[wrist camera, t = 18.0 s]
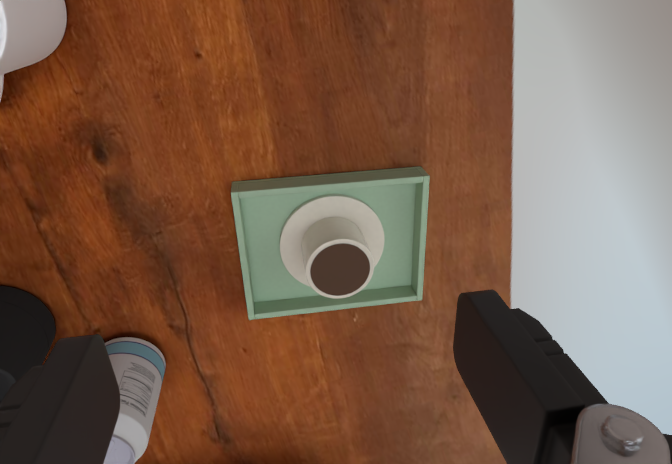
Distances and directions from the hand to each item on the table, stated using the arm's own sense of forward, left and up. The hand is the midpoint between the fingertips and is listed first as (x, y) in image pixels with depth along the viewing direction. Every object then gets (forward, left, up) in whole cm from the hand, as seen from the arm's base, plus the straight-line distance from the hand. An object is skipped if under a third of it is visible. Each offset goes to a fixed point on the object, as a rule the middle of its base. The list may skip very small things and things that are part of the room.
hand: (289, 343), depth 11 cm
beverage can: (+16, +26, -32) cm, 44 cm away
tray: (-5, +14, -32) cm, 35 cm away
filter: (-5, +15, -31) cm, 35 cm away
